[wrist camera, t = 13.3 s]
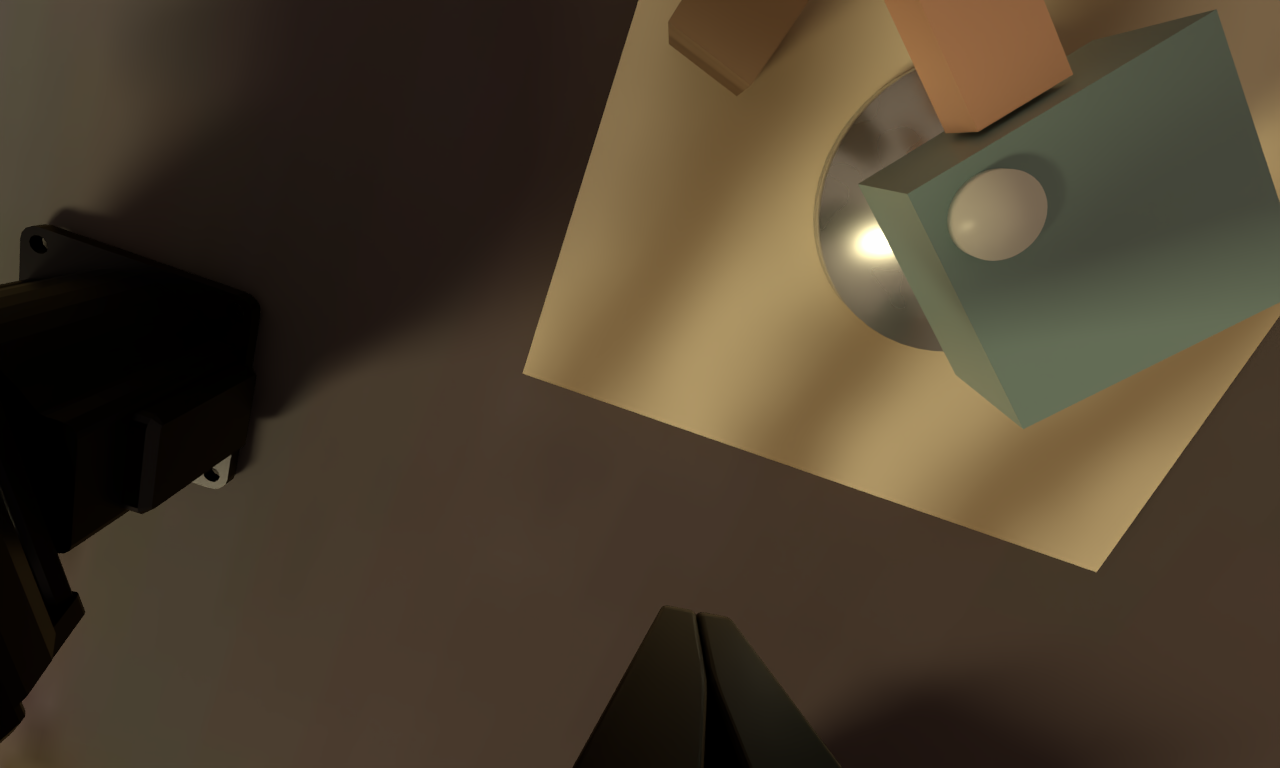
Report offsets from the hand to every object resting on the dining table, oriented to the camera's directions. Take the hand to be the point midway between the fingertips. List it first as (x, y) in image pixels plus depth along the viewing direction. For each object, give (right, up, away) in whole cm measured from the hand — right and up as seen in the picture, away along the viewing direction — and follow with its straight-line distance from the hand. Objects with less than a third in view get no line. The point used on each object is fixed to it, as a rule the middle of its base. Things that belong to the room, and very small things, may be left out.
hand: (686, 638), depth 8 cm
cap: (+5, +9, +5) cm, 12 cm away
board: (+7, +8, +9) cm, 14 cm away
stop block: (+2, +12, +8) cm, 14 cm away
